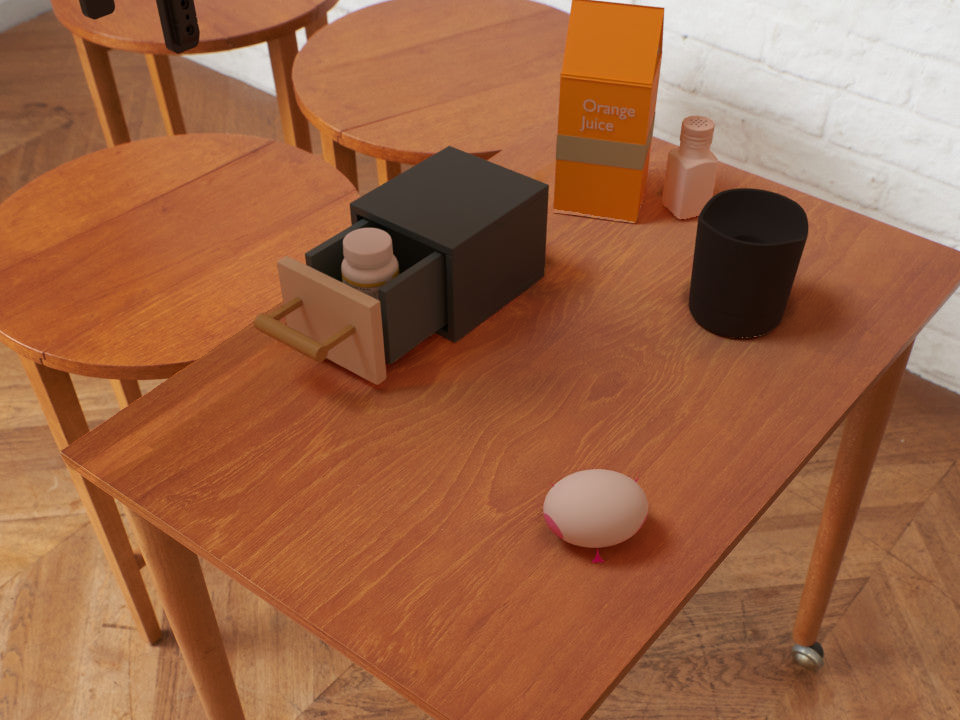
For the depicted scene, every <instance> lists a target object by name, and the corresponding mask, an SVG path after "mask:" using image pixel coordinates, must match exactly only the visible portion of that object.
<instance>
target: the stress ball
mask: <svg viewBox="0 0 960 720" xmlns="http://www.w3.org/2000/svg"><path fill="white" fill-rule="evenodd" d="M639 478H640V476H638V477H637V478H636V479H635V480H634V479H633V478H631V477H629V476H628V475H626V474H625V473H621V472H618V471H616V470H610V469H603V468H594V469H593V468H592V469H584V470H579V471H576V472H573V473H571V474H568V475H565V476H564V477H563V478H561V479H560V480H558V481H557V482H556V483H555V484H553V483H552V482H550V484H551V486H552V487H551V488H550V489H549V491H548V492H547V494H546V496H545V498H544V501H543V507H542V511H543V512H542V513H543V517H544V520H545V523H546V525H547V526H548V528H549V530H550V531H551V532H552V533H553V534H555V535H556V537H558V538H560V539H561V540H562V541H564V542H566V543H568V544H571V545H573V546H576V547H577V546H578V547H583V548H590V549H594V548H596V549H597V550H596V554H595V557H594V558H593V560H592V561H591V562H590V564H595V563H606V561H605V560H603V558H602V557H601V556H600V553H599V548H606V547H607V548H608V547H612V546H616V545H618V544H621V543H624V542H625V541H627V540H628V539H630V538H632V537H633V536H635V535H636V534H637V533H638V532H639V531H640V529H642V527H643V526H644V524H645V523H646V520H647V518H648V514H649V507H650V506H649V501H648V497H647V494H646V492H645V490H644V489H643V488H642V486H640V485H639V483H638V482H637V481H638V480H639Z"/></svg>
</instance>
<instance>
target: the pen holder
mask: <svg viewBox="0 0 960 720" xmlns="http://www.w3.org/2000/svg"><path fill="white" fill-rule="evenodd" d="M697 217H698V218H697V224H696V234H695V244H694V249H693V251H694V252H693V259H692V260H693V261H692V266H691V276H690V285H689V295H688V310H689V312H690V314H691V316H692V317H693V319H694V320H695V322H696V323H698V325H699V326H701V327H702V328H703V329H705V330H706V331H709V332H710V331H711V333H713V334H716V335H718V336H722V337H725V338H730V337H734V338H733V339H738V338H742V337H743V338H746V337H748V338H746V339H750V338H749V337H754V336H759V335H762V336H764V335H763V334H765V335H767V334H769V333H771V332H772V331H774V330H775V329H776V328H777V327H778V326H779V325H780V324H781V322H782V319H783V317H784V315H785V311H786V308H787V306H788V301H789V298H790V296H791V292H792V289H793V286H794V283H795V279H796V276H797V273H798V269H799V267H800V262H801V259H802V256H803V252H804V250H805V246H806V243H807V241H808V240H807V239H808V236H809V220H808V215H807V212H806V211H805V209H804V208H803V207H802V206H801V205H800V204H799V203H798V202H796V201H795V200H793V199H792V198H790V197H788V196H786V195H783V194H780V193H778V192H774V191H770V190H766V189H762V188H761V189H760V188H749V187H741V188H740V187H738V188H729V189H725V190H723V191H722V190H721V191H720V192H717V193H716V194H715V195H714V194H713V196H712V198H711V199H710V200H709V201H708V202H707V203H706V205H705V206H704V208H703V209H702V211H701V213H700V215H699V216H697ZM768 332H769V333H768ZM766 333H767V334H766ZM759 337H760V336H759Z"/></svg>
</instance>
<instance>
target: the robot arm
mask: <svg viewBox="0 0 960 720" xmlns="http://www.w3.org/2000/svg"><path fill="white" fill-rule="evenodd" d="M155 3H156V8H157V12H158V13H157V14H158V17H159V22H160V26H161V30H162V31H161V32H162V35H163V40H164V44H165V48H166V49H167V50H168V51H169V52H172V53H175V54H178V55H179V54H182V53H184V52H187V51H190V50H192V49H194V48H196V47H198V45H199V44H200V34H201V31H200V25H199V21H198V17H197V11H196V5H195V0H155ZM78 4H79V6H80V10H81V13H82V15H83V16H84V17H86V18H88V19H91V20H98V19H101V18H103V17H106V16H109V15H112V14H113V13H114V12H115V10H116V3H115V0H78Z"/></svg>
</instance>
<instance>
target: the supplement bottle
mask: <svg viewBox="0 0 960 720" xmlns="http://www.w3.org/2000/svg"><path fill="white" fill-rule="evenodd" d="M343 254H344V260H343V262H342V266H341V271H342V279H343V283H344V284H346V285H348V286H350V287H352V288H354V289H356V290H358V291H360V292H362V293H365V294H367V295H369V296H371V297H373V298H375V299H377V300H379V295H378V289H379V288H380V287H382V286H383V285H385V284H386V283H388V282H389V281H391V280H392V279H394V278H395V277H397V276H398V275H399V265H398V261H397V259H396V257H395V256H394V255H393V248H392V239H391V237H390V235H389V234H388V233H387V232H385V231H383V230H380V229H377V228H361V229H357V230H354V231H352V232H350V233H348V234H347V235H346V236H345V238H344V239H343Z"/></svg>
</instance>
